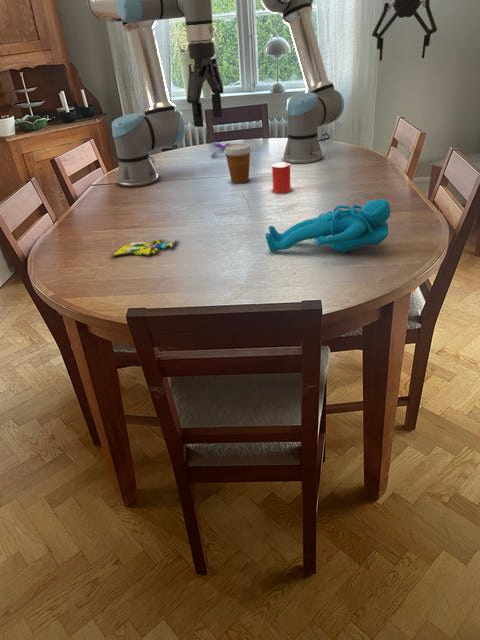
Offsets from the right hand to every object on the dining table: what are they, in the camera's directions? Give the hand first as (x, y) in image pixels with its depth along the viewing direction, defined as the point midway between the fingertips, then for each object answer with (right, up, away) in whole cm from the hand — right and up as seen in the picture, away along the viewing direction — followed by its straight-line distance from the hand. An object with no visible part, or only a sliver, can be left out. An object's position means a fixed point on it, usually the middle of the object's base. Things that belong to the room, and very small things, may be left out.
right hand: (401, 59), depth 162 cm
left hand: (-64, -27, -15) cm, 71 cm away
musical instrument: (-62, -14, +51) cm, 81 cm away
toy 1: (-80, -69, -32) cm, 111 cm away
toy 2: (-33, -71, -41) cm, 88 cm away
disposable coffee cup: (-55, -38, +12) cm, 67 cm away
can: (-41, -45, 0) cm, 60 cm away
